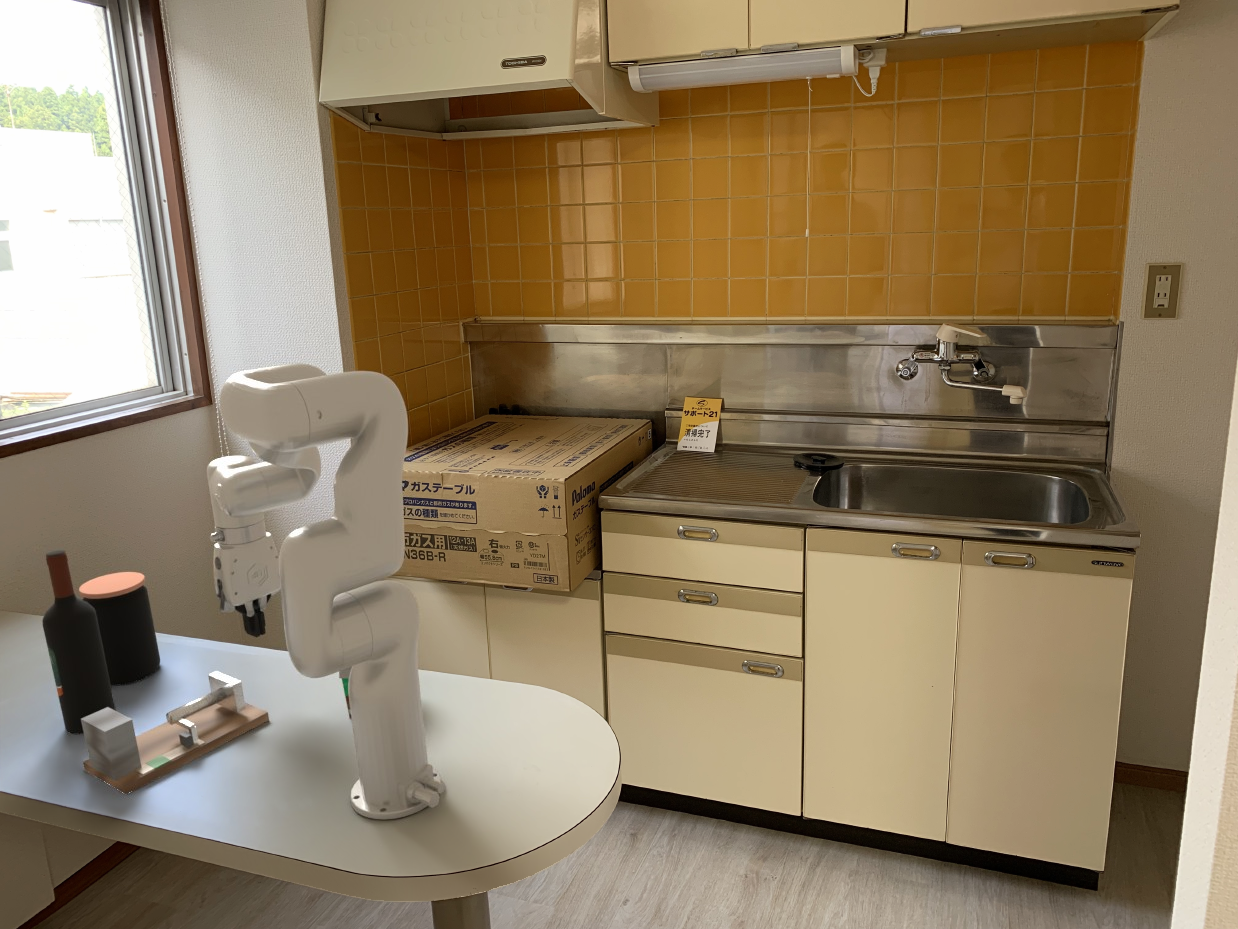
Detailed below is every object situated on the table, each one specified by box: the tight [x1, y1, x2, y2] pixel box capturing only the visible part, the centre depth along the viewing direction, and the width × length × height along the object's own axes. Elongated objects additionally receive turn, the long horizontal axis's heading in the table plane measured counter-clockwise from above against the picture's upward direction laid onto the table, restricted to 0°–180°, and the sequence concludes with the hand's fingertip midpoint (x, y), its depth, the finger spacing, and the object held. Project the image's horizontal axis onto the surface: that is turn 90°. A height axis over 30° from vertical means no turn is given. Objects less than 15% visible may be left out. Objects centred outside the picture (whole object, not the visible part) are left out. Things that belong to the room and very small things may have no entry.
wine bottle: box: [42, 549, 117, 735], centre depth 153 cm, size 8×8×30 cm
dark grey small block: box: [179, 731, 194, 748], centre depth 145 cm, size 2×1×2 cm, turn 55°
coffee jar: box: [78, 571, 161, 686], centre depth 172 cm, size 11×11×18 cm
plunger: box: [165, 670, 246, 742], centre depth 151 cm, size 8×11×5 cm
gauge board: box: [81, 702, 270, 795], centre depth 148 cm, size 12×24×10 cm, turn 145°
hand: (256, 633), depth 159 cm, fingers closed
